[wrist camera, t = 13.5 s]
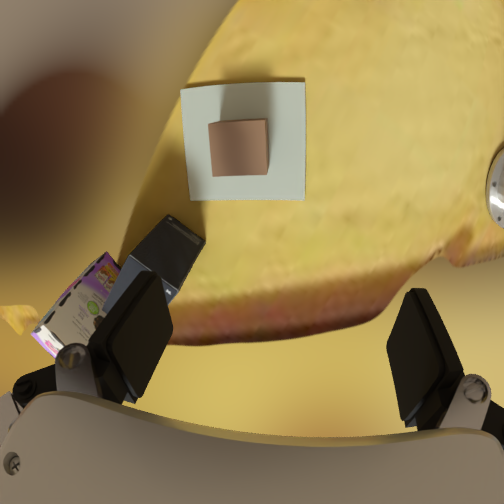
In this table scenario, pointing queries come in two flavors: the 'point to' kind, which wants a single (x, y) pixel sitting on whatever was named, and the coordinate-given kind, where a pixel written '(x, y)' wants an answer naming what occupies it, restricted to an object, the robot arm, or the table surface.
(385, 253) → the table surface
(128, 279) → the small box
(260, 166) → the cube
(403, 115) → the table surface
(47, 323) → the candy box
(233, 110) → the mat
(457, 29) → the table surface
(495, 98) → the table surface
